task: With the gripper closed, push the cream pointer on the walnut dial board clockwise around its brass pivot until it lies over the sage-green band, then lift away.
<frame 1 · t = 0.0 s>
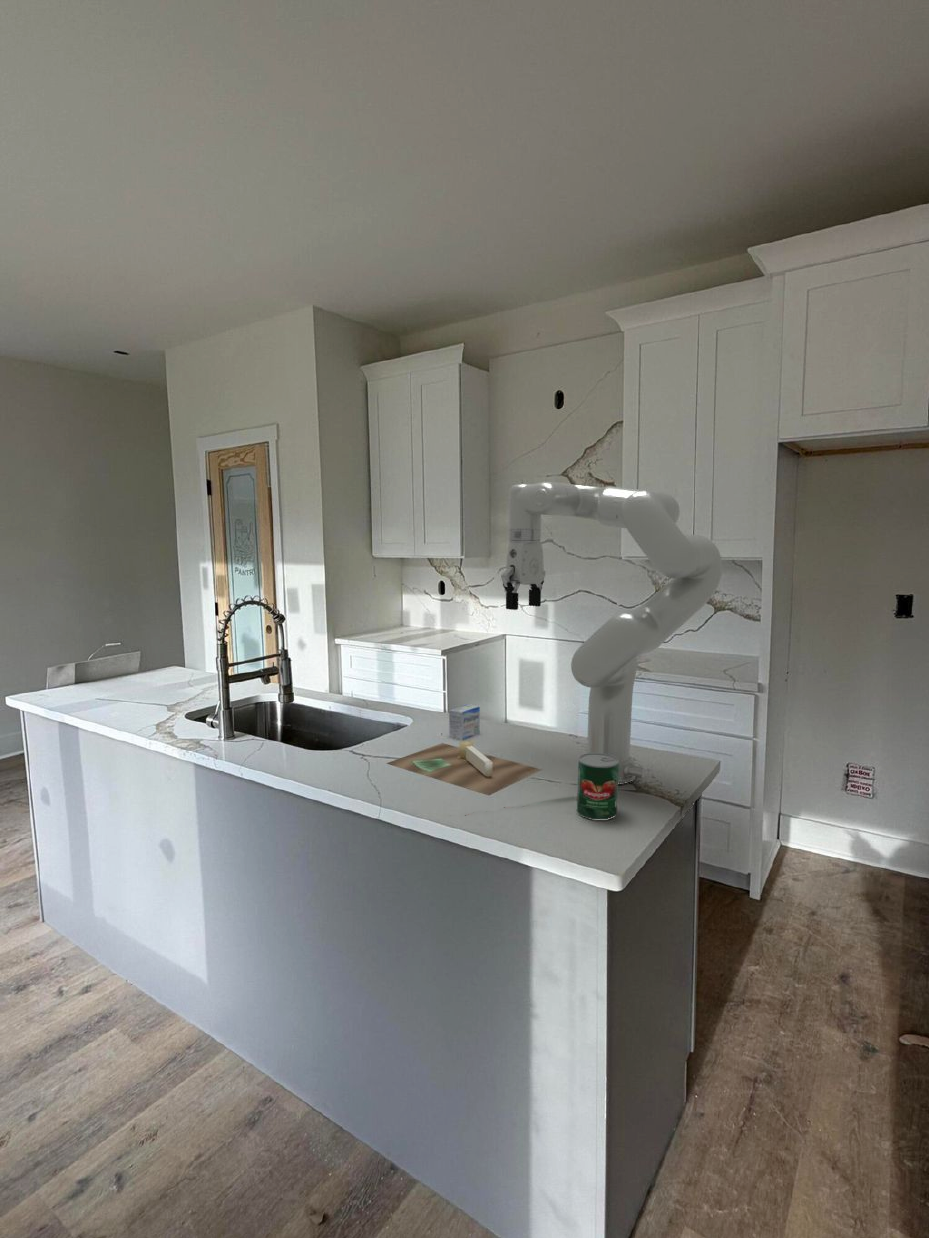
hand: (523, 607, 167), 37 cm above the worktop, tool pointing down, fingers open, 9 cm apart
medicine box: (464, 740, 183), on the worktop
pointer: (476, 757, 159), point 3 cm above the worktop, hinge at 0.0°
dial board: (463, 771, 159), on the worktop
canned tomato: (596, 813, 137), on the worktop
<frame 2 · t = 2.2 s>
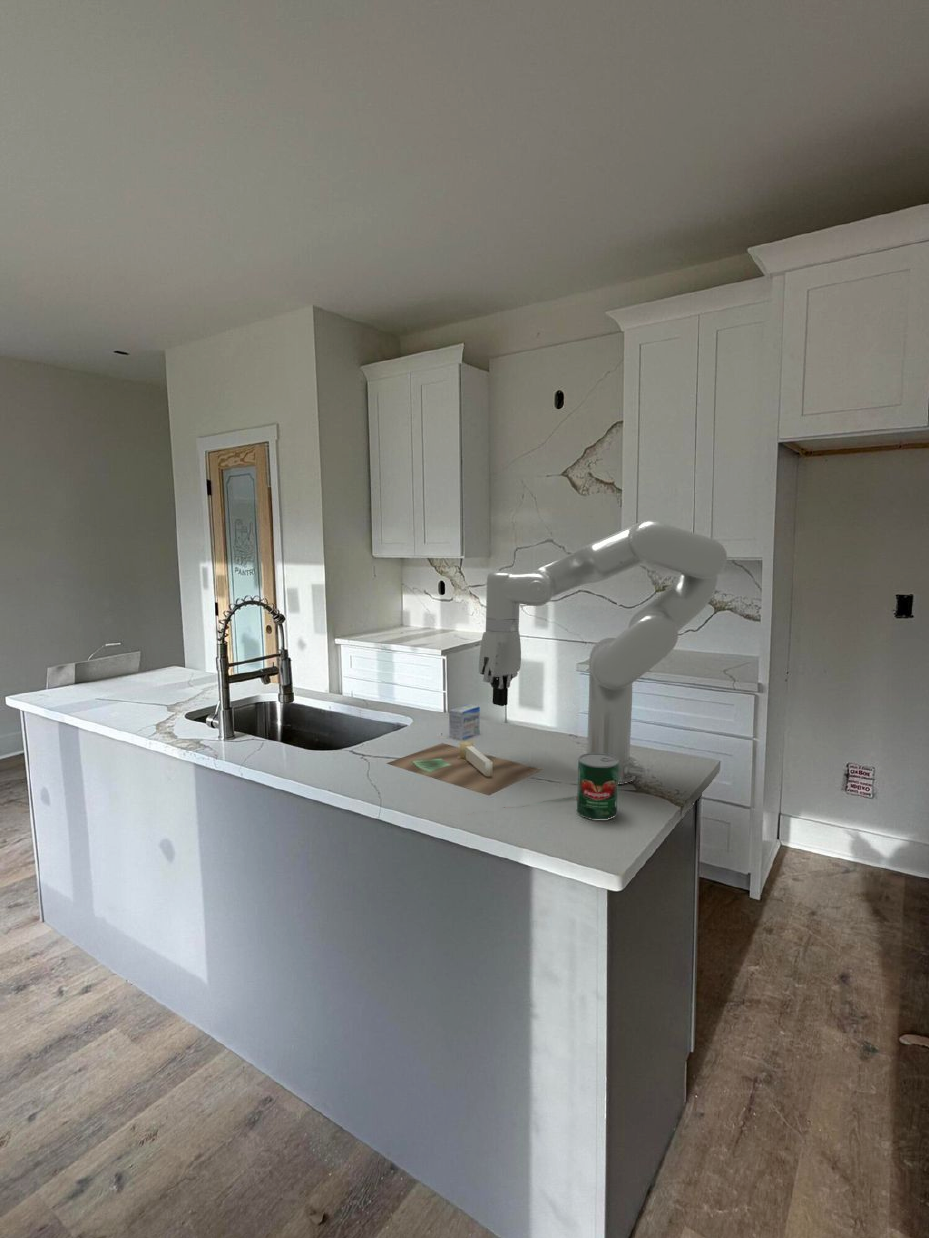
hand: (499, 704, 159), 16 cm above the worktop, tool pointing down, fingers closed
nothing on the worktop moved.
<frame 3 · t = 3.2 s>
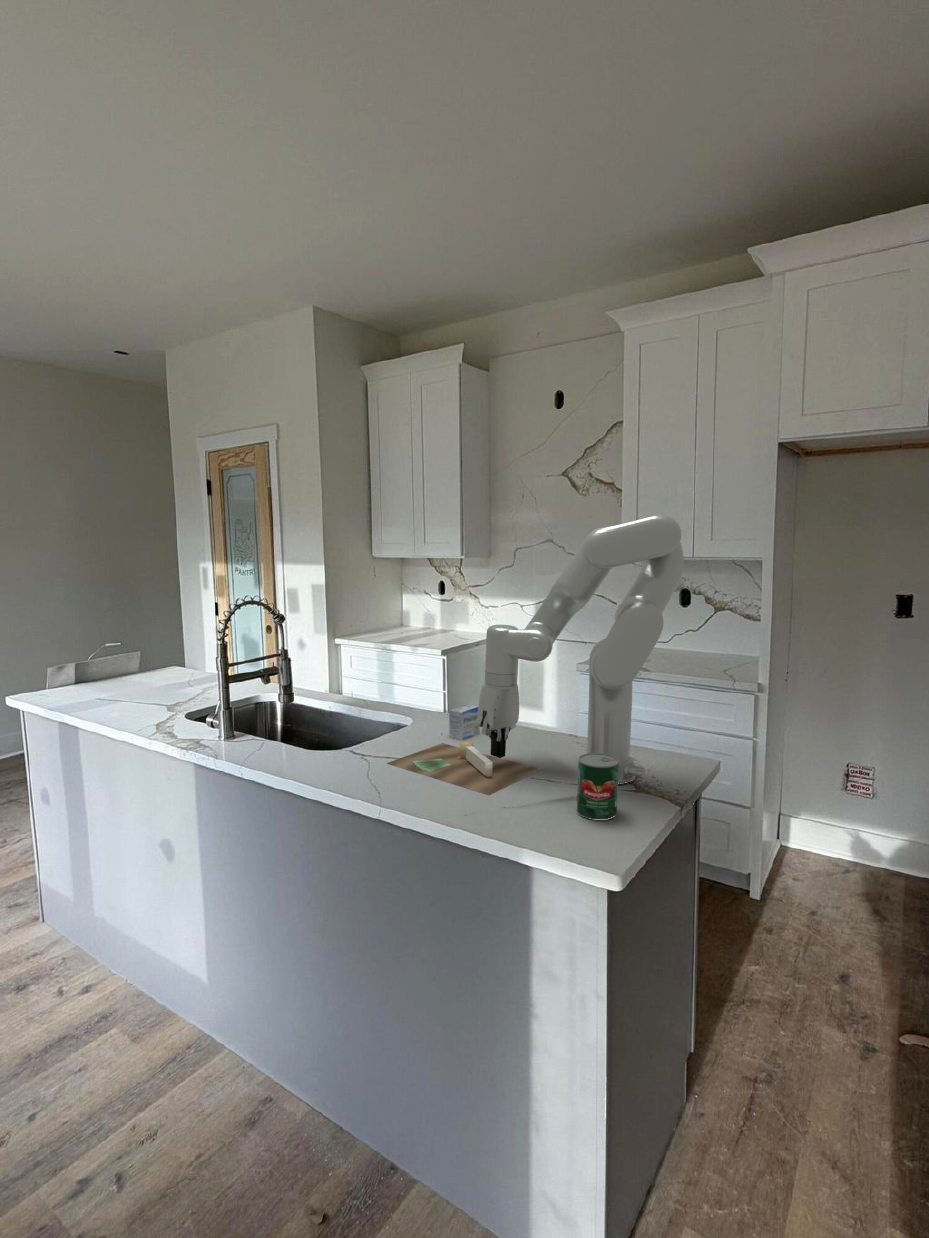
hand: (497, 755, 160), 3 cm above the worktop, tool pointing down, fingers closed
nothing on the worktop moved.
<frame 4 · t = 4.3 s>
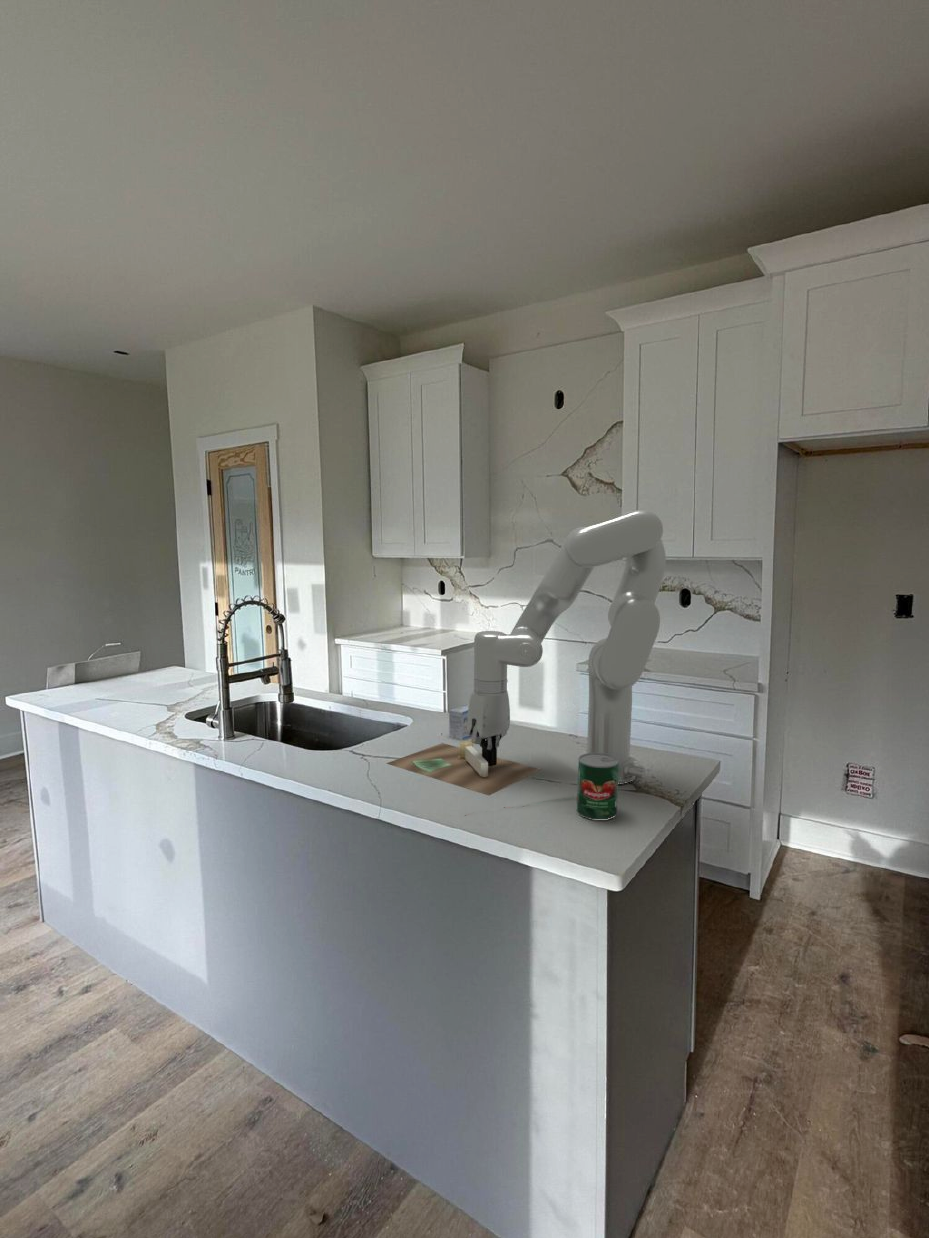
hand: (489, 764, 158), 2 cm above the worktop, tool pointing down, fingers closed
pointer: (474, 758, 158), point 3 cm above the worktop, hinge at -4.5°, touching gripper
everything else where it was.
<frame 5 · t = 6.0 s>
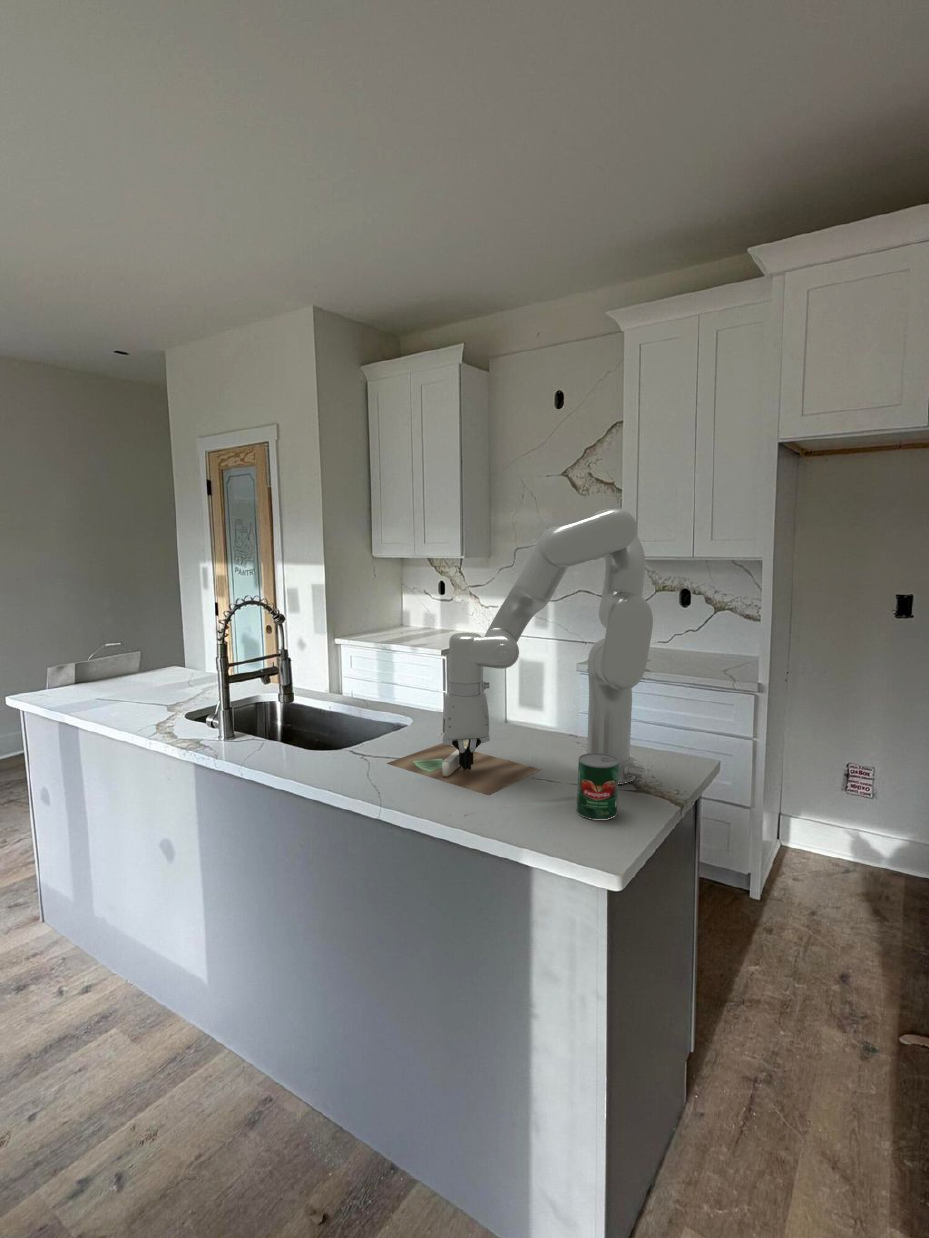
hand: (466, 767, 156), 2 cm above the worktop, tool pointing down, fingers closed
pointer: (457, 757, 159), point 3 cm above the worktop, hinge at -41.1°, touching gripper
everything else where it was.
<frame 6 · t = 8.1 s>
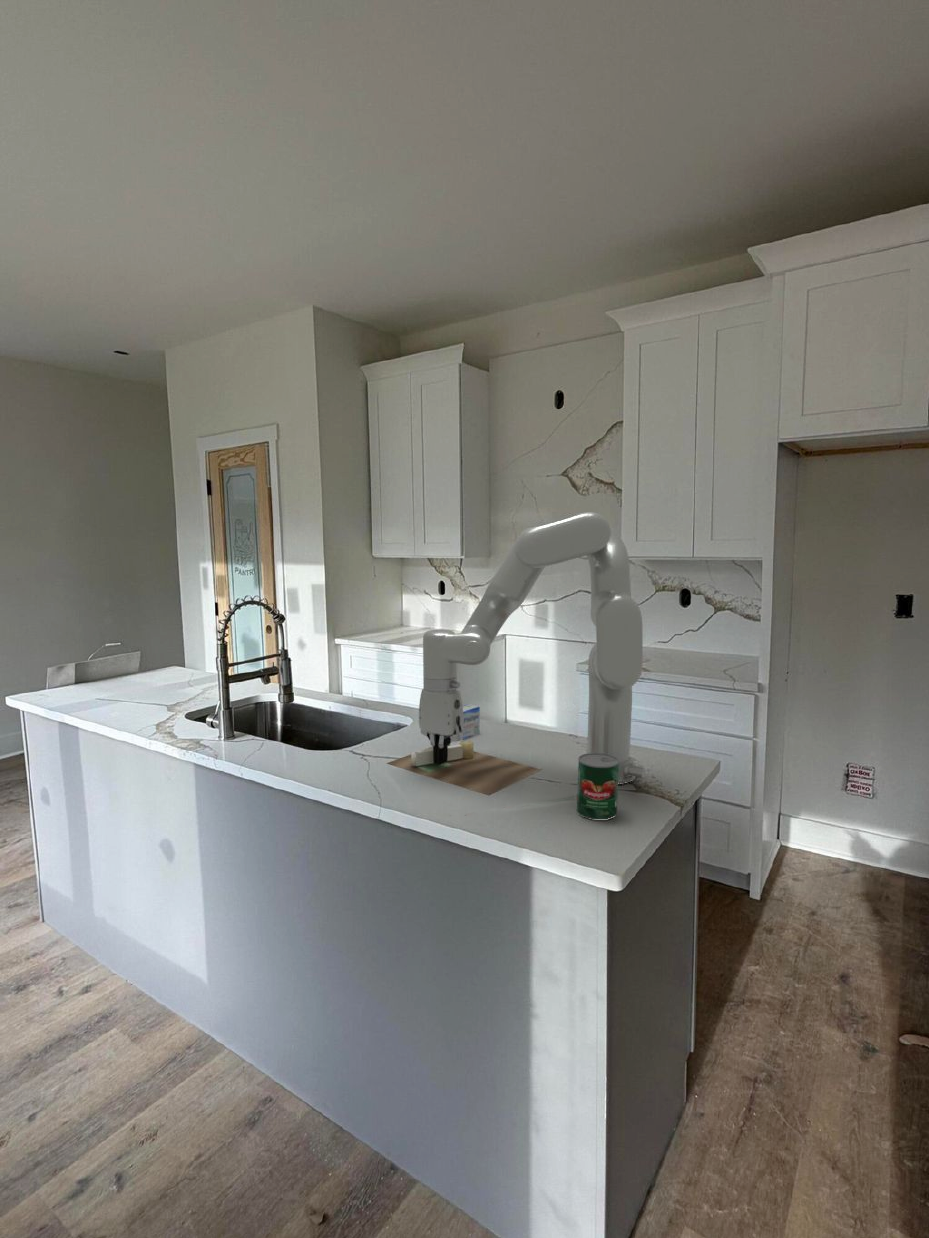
hand: (440, 762, 158), 2 cm above the worktop, tool pointing down, fingers closed
pointer: (442, 753, 162), point 3 cm above the worktop, hinge at -83.4°
everything else where it was.
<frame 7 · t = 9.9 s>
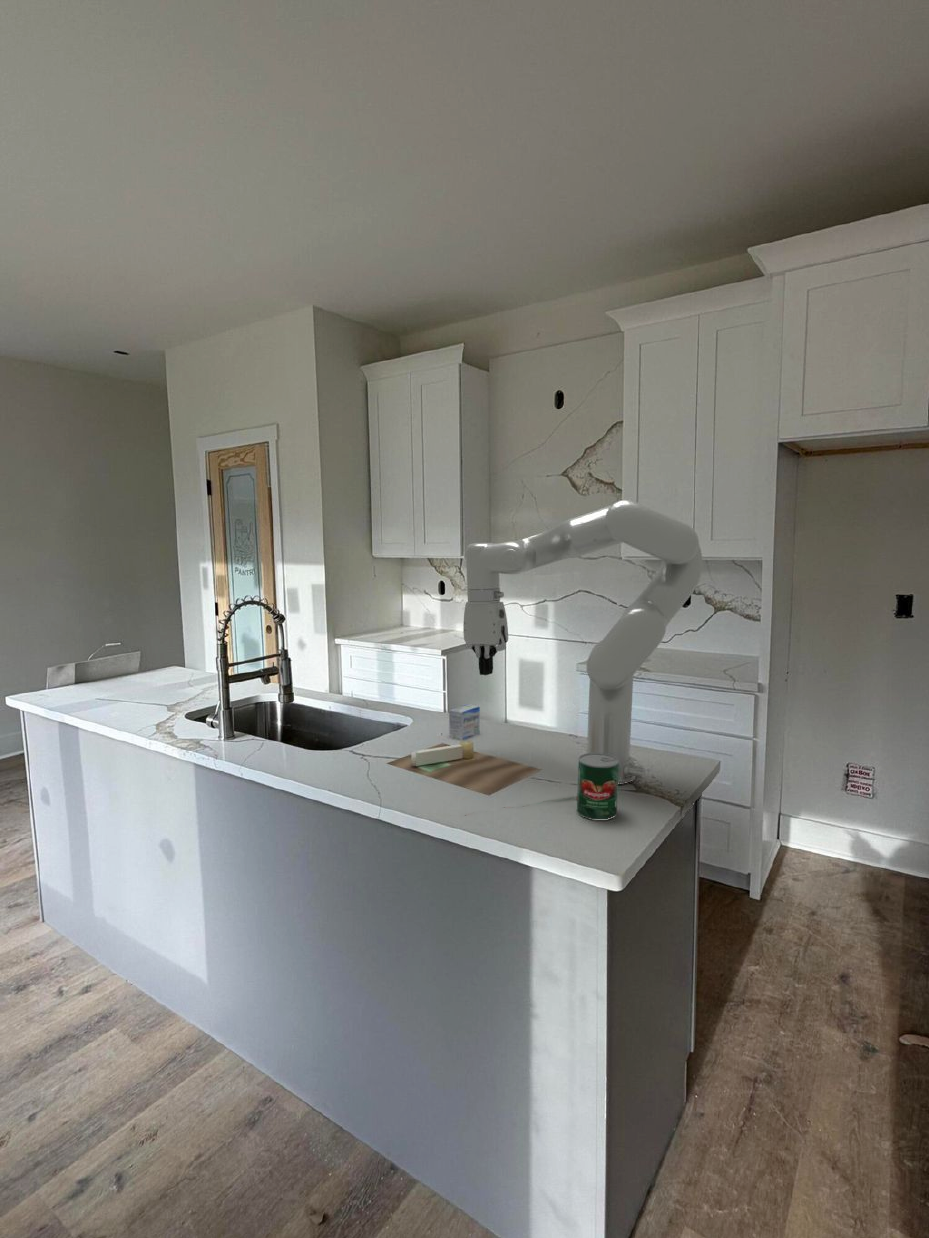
hand: (486, 673, 162), 22 cm above the worktop, tool pointing down, fingers closed
nothing on the worktop moved.
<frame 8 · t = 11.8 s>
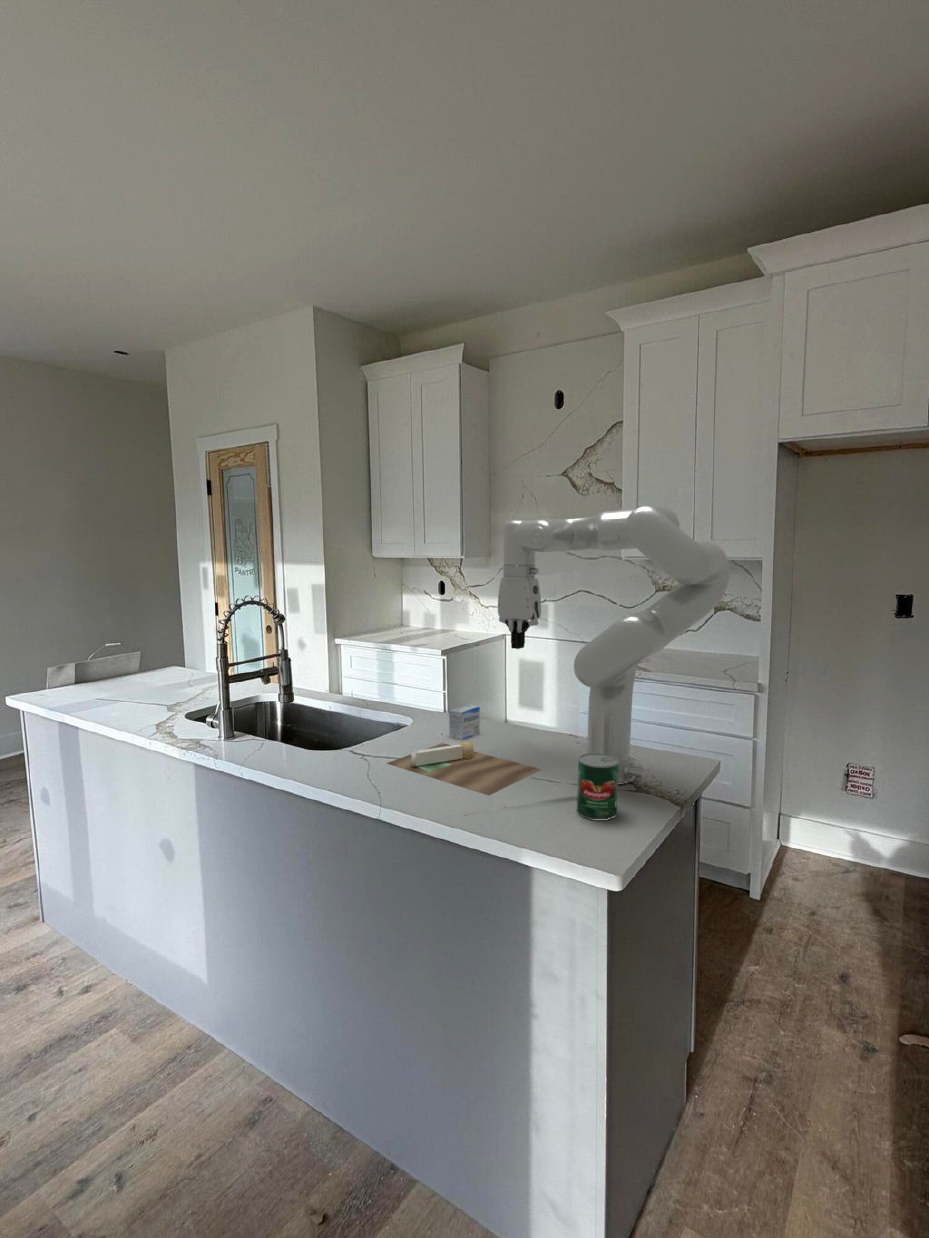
hand: (517, 647, 167), 27 cm above the worktop, tool pointing down, fingers closed
nothing on the worktop moved.
at the end: pointer at -83° (first picture: +0°); medicine box moved 0.3 cm from its start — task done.
